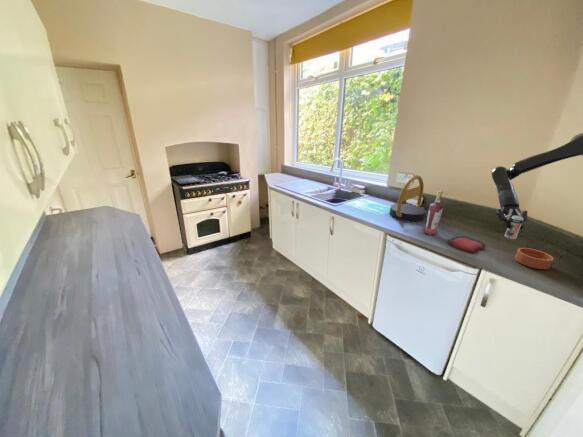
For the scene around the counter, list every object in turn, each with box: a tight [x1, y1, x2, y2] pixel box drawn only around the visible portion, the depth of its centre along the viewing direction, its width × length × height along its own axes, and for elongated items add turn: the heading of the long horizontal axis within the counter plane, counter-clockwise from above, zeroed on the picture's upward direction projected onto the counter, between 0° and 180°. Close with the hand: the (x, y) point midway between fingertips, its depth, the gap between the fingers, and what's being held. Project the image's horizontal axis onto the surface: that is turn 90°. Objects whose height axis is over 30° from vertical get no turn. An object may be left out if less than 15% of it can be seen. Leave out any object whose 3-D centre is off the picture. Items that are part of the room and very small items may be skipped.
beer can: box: [504, 215, 524, 240], centre depth 123 cm, size 5×5×12 cm
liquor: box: [423, 189, 445, 236], centre depth 145 cm, size 7×7×28 cm
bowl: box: [514, 247, 554, 270], centre depth 116 cm, size 13×13×6 cm
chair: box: [388, 174, 427, 223], centre depth 173 cm, size 25×35×32 cm
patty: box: [447, 237, 484, 254], centre depth 134 cm, size 18×14×2 cm
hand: (515, 228), depth 122 cm, fingers closed on beer can, 5 cm apart
